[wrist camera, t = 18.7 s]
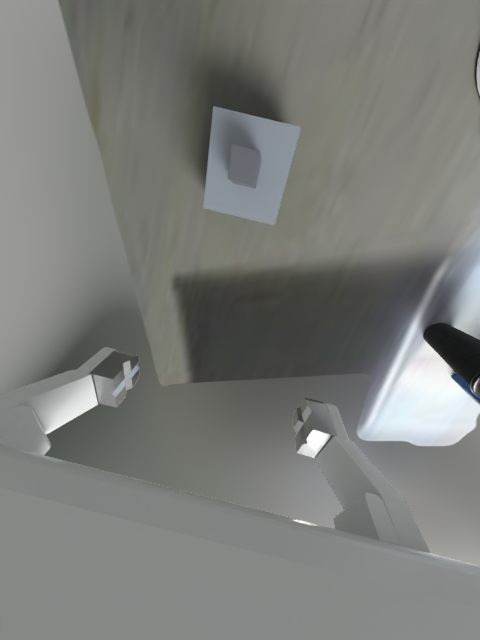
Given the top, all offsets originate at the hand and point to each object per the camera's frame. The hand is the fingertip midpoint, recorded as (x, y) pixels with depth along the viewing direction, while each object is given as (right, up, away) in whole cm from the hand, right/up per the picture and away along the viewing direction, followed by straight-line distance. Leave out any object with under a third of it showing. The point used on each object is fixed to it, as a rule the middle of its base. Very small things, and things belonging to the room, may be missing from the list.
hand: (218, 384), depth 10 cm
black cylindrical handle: (+42, +1, +31) cm, 52 cm away
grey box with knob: (+3, +26, +23) cm, 35 cm away
